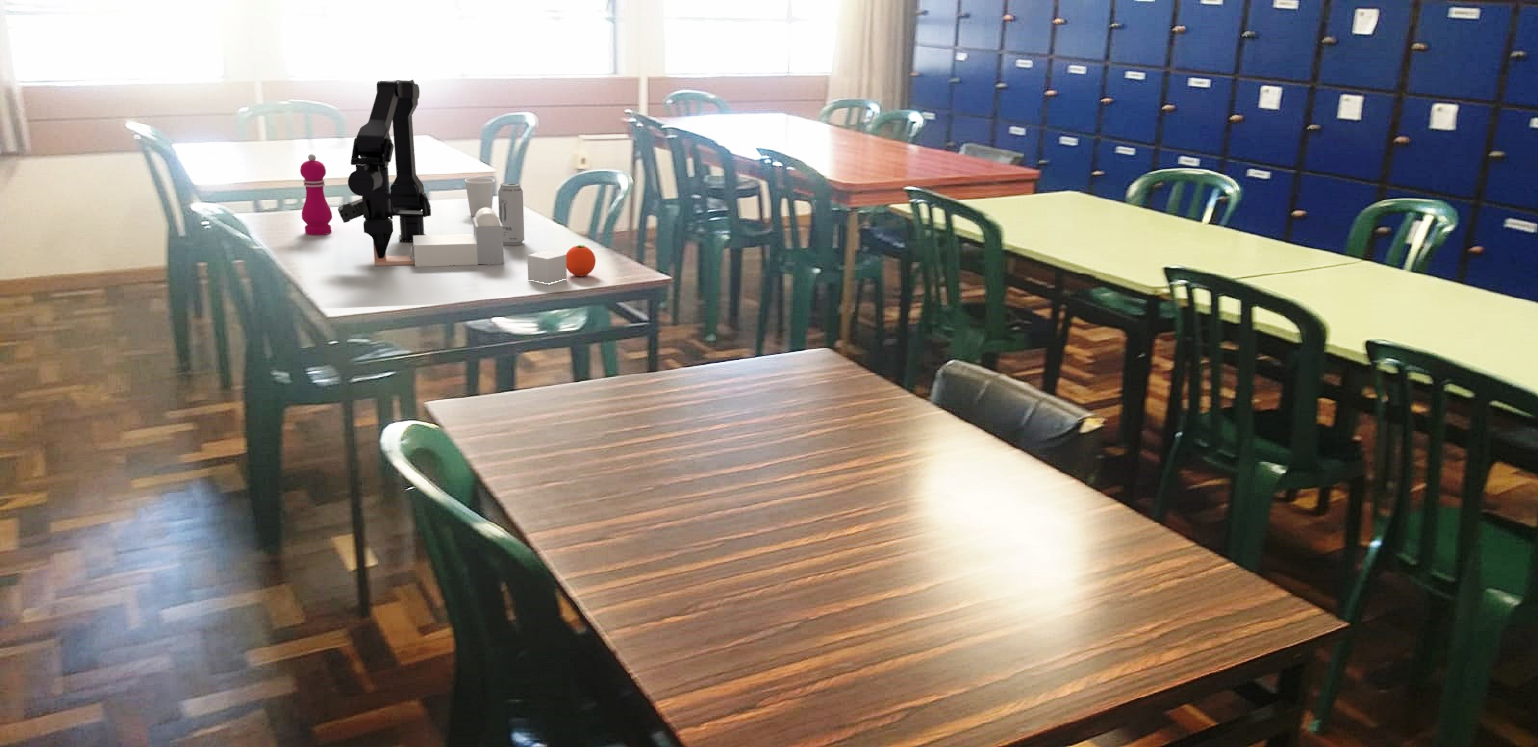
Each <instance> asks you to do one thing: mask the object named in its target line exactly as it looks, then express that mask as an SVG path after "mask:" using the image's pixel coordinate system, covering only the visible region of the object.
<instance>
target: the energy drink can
mask: <svg viewBox="0 0 1538 747" xmlns="http://www.w3.org/2000/svg"><path fill="white" fill-rule="evenodd" d="M497 192H498V194H497V195H498V196H497V198H498V217H499V219H500V221H501V223H502V226H503V246H511V247H512V246H515V247H516V246H520V245H522V244H523V242H524V241H525V223H524V222H525V217H524V190H523V189H522V187H521V184H520V183H517V182H502V183H500V186H499V189H498V191H497Z"/></svg>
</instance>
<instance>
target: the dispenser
mask: <svg viewBox="0 0 1538 747" xmlns="http://www.w3.org/2000/svg"><path fill="white" fill-rule="evenodd" d="M472 220H473V221H472V222H473V225H472V226H473V228H472V229H473V233H468V234H467V233H464V234H463V233H462V234H426V235H416V236H413V241H412V242H413V243H412V244H413V246H410V248H409V251H410V255H411V259H412V260H414V259H415V264H414V266H415V268H418V267H419V268H420V267H449V266H450V265H451V267H452V266H453V265H455V266H477V265H478V264H488V265H505V256H504V255H505V252H504V249H505V248H504V245H503V226H502V223H501V221H500V219H499V216H498V215H497V213H496V212H495V210H493V208H492V209H490V208H486V207H485V208H481V209H480V210H478V211H477V213H476V216H475V217H472ZM501 263H503V264H501ZM478 266H479V265H478Z"/></svg>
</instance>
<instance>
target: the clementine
mask: <svg viewBox="0 0 1538 747" xmlns="http://www.w3.org/2000/svg"><path fill="white" fill-rule="evenodd" d="M565 255H566V269H567V271H568V272H569V273H570V274H572V275H573V276H575V277H584V276H587V275H589V274H591V273H592V271H594V268H595V267H596V256H595V253H594V252H593V251H592V249H591V248H589V247H587V246H585V244H579V245H575V246H573V247H571V248H570V249H568V250H567V252H566V253H565Z"/></svg>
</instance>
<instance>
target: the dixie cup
mask: <svg viewBox="0 0 1538 747" xmlns="http://www.w3.org/2000/svg"><path fill="white" fill-rule="evenodd" d="M495 182H496V180H495V179H494V178H490V177H478V176H477V177H469V178H467V177H466V178H465V179H464V183H465V189H466V194H467V195H466V196H467V201H468V206H469V212H470V213H469V214H470V216H471V217H473V218H475V216H476V213H477V211H478V210H480V209H481V208H485V207H486V208H490V209H492V210H493V201H494V200H493V199H494V190H495V189H494V187H495Z"/></svg>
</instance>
